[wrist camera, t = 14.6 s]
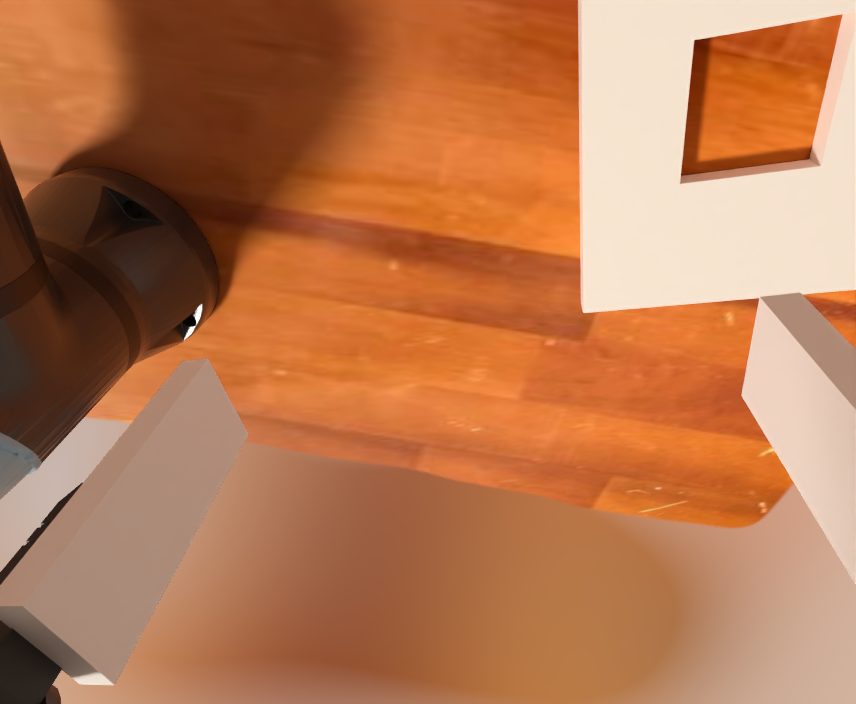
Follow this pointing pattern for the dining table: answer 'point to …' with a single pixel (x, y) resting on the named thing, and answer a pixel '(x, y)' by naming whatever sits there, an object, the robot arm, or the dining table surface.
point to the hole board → (706, 192)
